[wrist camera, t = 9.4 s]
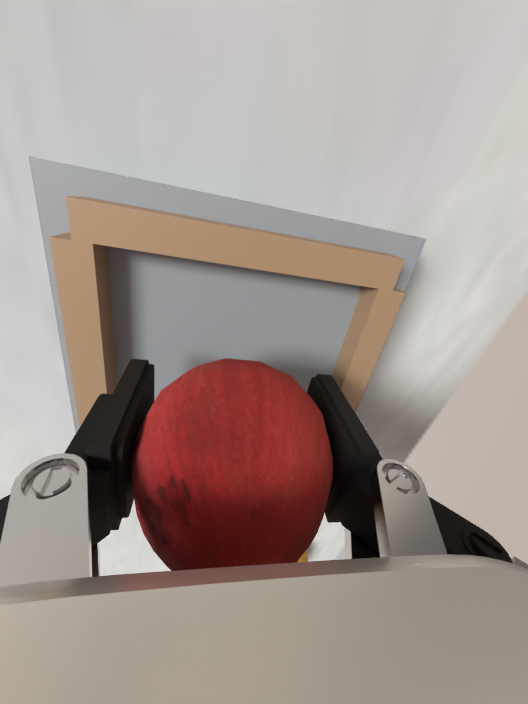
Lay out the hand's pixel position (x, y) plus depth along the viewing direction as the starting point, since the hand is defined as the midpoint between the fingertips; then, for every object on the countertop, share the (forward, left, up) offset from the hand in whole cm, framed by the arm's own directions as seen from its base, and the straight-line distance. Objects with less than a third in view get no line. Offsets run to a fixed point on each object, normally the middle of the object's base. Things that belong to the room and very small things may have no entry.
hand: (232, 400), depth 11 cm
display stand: (0, 0, -5) cm, 5 cm away
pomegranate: (0, 0, -1) cm, 1 cm away
